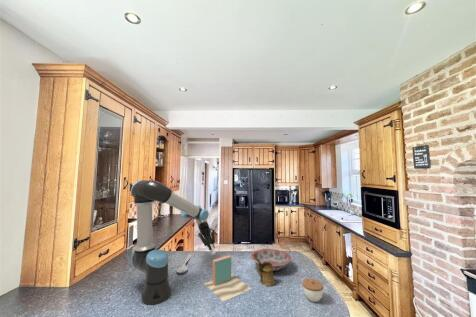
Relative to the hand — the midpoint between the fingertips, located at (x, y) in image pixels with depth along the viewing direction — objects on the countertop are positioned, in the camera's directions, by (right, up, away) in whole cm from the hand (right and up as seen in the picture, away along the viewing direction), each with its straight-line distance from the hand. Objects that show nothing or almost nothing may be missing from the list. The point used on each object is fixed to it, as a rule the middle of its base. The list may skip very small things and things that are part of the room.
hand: (213, 253), depth 134 cm
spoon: (-24, -16, +15) cm, 32 cm away
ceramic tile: (+7, -12, -11) cm, 18 cm away
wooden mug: (+33, -13, -12) cm, 37 cm away
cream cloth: (+10, -12, -16) cm, 23 cm away
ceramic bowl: (+41, -14, +9) cm, 44 cm away
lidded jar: (+57, -11, -28) cm, 65 cm away
